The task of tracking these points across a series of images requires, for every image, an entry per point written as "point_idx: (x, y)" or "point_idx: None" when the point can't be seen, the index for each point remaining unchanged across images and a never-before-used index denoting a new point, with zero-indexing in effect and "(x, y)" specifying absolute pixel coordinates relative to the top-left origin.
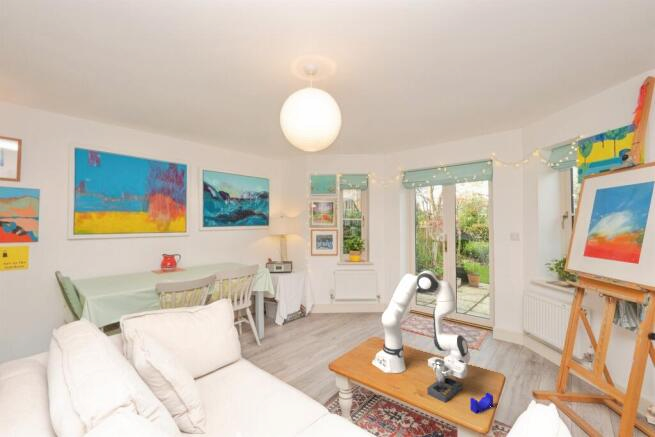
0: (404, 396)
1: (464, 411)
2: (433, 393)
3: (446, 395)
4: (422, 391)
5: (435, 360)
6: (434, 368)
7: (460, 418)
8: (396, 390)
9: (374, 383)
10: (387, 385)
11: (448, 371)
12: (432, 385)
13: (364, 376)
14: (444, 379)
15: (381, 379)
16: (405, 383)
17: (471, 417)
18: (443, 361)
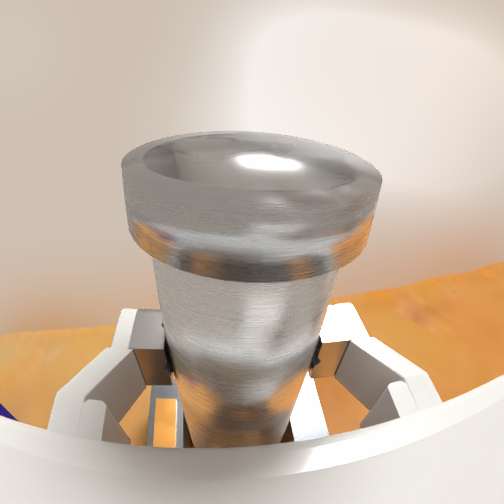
0: (344, 297)
1: (45, 395)
2: None
3: (151, 404)
4: (343, 395)
5: (337, 152)
6: (333, 305)
7: (56, 336)
8: (400, 301)
9: (458, 275)
10: (442, 297)
11: (89, 364)
12: (314, 427)
13: (498, 276)
14: (185, 417)
15: (484, 304)
16: (447, 367)
17: (15, 369)
18: (163, 171)
